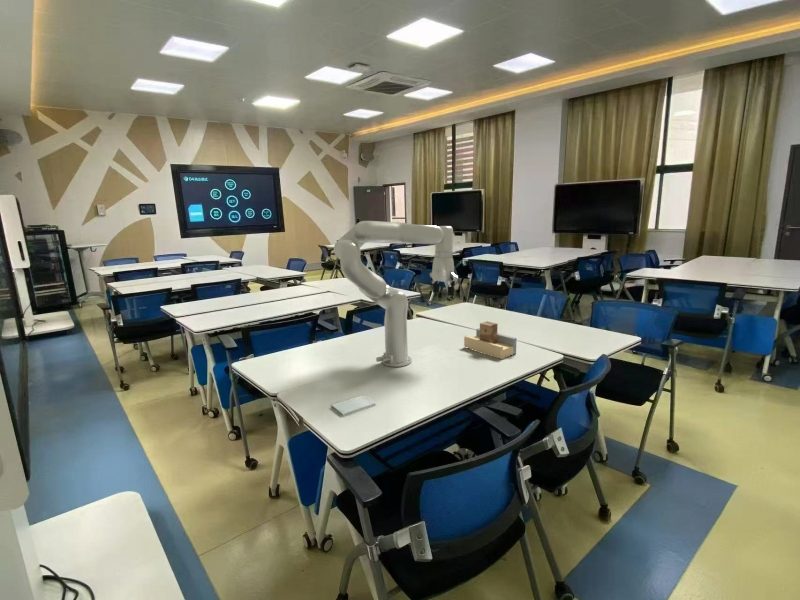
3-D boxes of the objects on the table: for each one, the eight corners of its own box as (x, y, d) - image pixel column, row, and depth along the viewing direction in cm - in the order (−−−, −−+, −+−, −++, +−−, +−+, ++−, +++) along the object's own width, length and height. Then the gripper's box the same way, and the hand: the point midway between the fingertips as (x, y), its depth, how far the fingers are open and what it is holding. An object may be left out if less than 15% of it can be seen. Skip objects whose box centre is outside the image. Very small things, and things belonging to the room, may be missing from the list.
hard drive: (342, 413, 128) (375, 402, 135) (330, 404, 134) (362, 394, 141) (342, 418, 128) (375, 406, 135) (331, 409, 135) (363, 398, 142)
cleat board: (500, 359, 175) (501, 342, 173) (464, 347, 192) (464, 332, 191) (516, 354, 181) (516, 337, 179) (479, 343, 198) (479, 328, 197)
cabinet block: (488, 345, 181) (488, 326, 179) (478, 342, 186) (478, 323, 184) (497, 342, 185) (497, 323, 183) (487, 340, 189) (487, 321, 188)
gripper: (424, 254, 180) (424, 292, 184) (451, 256, 167) (450, 297, 170) (437, 253, 185) (436, 290, 188) (464, 255, 171) (463, 295, 174)
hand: (443, 293), depth 179 cm, fingers open, 9 cm apart
